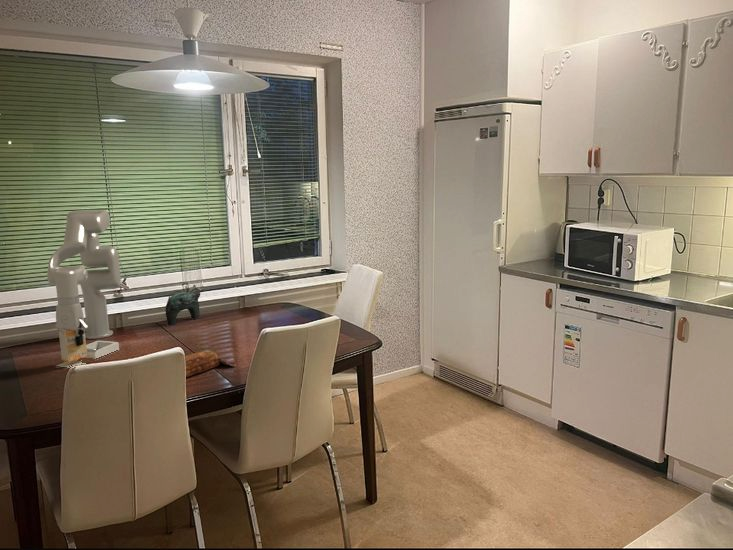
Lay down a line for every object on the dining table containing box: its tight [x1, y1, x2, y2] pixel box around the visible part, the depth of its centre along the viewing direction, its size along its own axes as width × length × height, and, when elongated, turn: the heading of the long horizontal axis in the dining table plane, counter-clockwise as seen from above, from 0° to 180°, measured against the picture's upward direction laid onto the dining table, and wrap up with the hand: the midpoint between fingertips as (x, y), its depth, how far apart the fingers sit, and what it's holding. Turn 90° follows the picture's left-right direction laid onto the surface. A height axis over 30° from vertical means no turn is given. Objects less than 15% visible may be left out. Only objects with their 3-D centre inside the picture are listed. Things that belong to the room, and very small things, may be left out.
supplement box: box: [58, 329, 87, 362], centre depth 223 cm, size 8×5×13 cm, turn 148°
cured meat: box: [184, 349, 237, 378], centre depth 217 cm, size 18×25×7 cm
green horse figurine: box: [165, 282, 201, 326], centre depth 287 cm, size 20×6×20 cm, turn 144°
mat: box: [55, 359, 86, 369], centre depth 225 cm, size 10×10×1 cm
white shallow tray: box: [83, 340, 120, 359], centre depth 237 cm, size 11×14×4 cm
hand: (73, 344), depth 223 cm, fingers closed on supplement box, 5 cm apart
